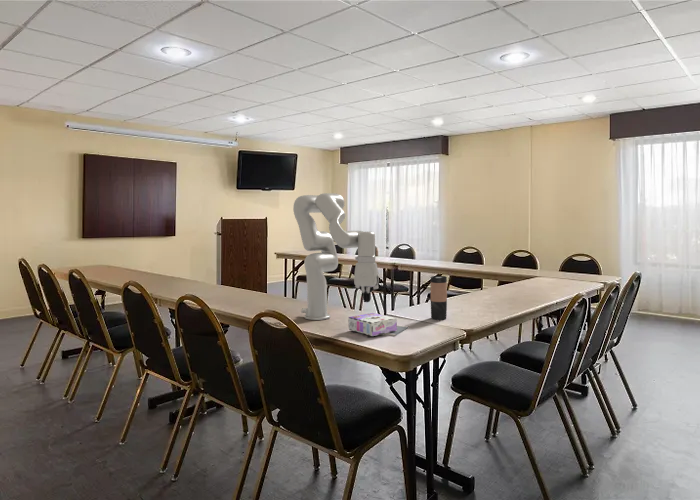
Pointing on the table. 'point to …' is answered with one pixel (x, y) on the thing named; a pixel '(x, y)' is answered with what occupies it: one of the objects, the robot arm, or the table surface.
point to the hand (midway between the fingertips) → (366, 301)
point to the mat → (399, 330)
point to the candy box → (372, 324)
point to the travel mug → (438, 297)
